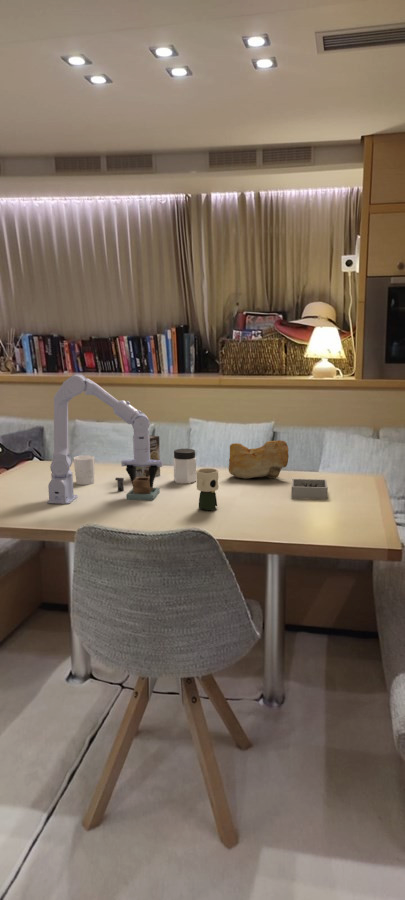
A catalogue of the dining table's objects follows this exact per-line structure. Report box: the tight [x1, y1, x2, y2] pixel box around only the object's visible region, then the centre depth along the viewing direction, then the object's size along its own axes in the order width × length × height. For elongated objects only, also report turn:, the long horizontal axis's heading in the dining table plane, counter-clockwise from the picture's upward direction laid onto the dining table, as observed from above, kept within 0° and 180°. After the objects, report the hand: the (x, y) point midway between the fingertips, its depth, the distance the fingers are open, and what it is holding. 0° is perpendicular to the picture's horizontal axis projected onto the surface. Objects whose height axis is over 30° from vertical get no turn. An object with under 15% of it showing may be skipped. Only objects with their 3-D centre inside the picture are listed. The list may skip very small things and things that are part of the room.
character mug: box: [196, 467, 219, 511], centre depth 203 cm, size 11×7×13 cm, turn 153°
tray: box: [126, 487, 161, 501], centre depth 220 cm, size 10×10×2 cm
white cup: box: [73, 454, 95, 486], centre depth 239 cm, size 8×8×10 cm
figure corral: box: [290, 478, 329, 500], centre depth 219 cm, size 11×12×4 cm
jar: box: [173, 448, 197, 484], centre depth 239 cm, size 9×8×12 cm
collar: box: [132, 477, 154, 494], centre depth 220 cm, size 6×6×4 cm
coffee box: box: [136, 435, 161, 478], centre depth 246 cm, size 9×6×16 cm
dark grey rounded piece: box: [114, 477, 125, 493], centre depth 227 cm, size 2×3×5 cm
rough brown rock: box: [228, 440, 290, 479], centre depth 245 cm, size 23×17×15 cm
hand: (143, 486), depth 220 cm, fingers closed on collar, 5 cm apart
